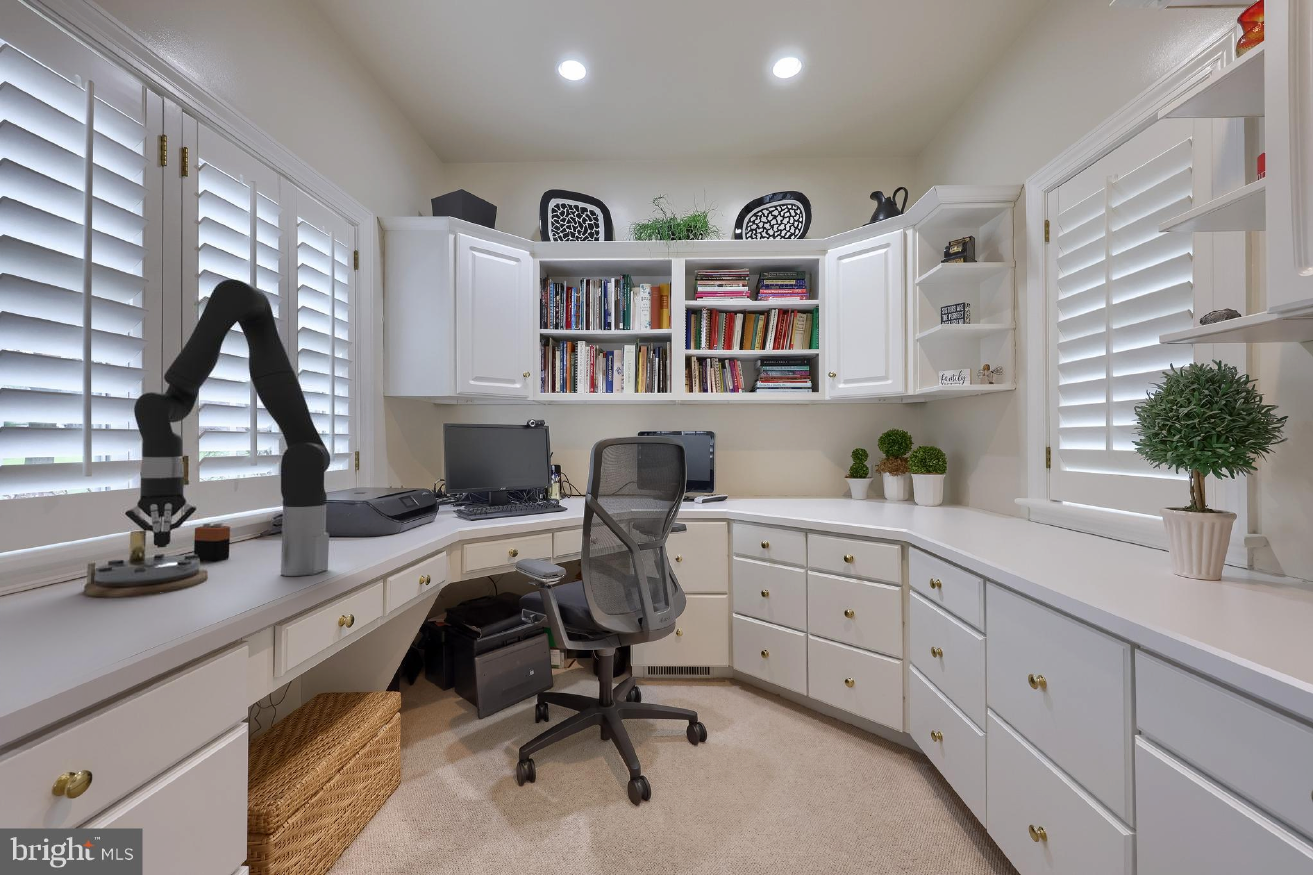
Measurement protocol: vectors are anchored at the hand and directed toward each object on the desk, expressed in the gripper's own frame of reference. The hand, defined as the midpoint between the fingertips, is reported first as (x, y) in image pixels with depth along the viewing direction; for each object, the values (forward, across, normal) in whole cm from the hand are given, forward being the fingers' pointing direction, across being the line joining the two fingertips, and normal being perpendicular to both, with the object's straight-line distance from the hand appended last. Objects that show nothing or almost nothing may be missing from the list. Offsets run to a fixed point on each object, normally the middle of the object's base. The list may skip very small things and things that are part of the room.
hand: (161, 546), depth 125 cm
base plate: (+7, +1, +8) cm, 11 cm away
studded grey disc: (+5, +1, +8) cm, 10 cm away
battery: (+8, -8, -16) cm, 20 cm away
